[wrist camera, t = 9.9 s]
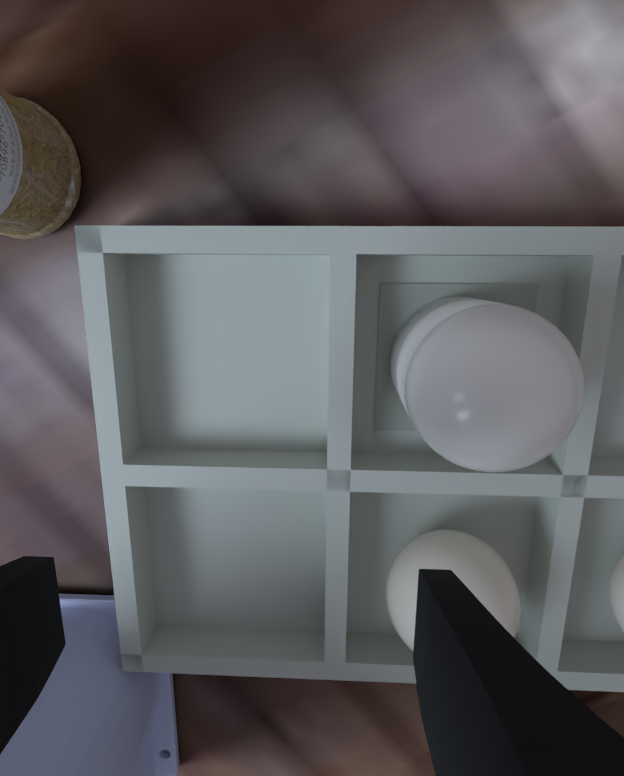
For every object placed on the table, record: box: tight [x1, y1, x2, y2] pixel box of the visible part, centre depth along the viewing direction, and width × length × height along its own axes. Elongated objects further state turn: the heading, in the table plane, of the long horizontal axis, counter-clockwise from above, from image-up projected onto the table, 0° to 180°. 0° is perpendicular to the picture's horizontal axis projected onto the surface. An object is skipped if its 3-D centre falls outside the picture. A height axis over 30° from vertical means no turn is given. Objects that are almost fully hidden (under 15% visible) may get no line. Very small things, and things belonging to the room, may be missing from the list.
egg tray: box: [74, 226, 624, 692], centre depth 17 cm, size 16×24×2 cm
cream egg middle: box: [386, 529, 520, 651], centre depth 16 cm, size 4×4×4 cm
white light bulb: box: [389, 296, 584, 472], centre depth 13 cm, size 4×4×6 cm
